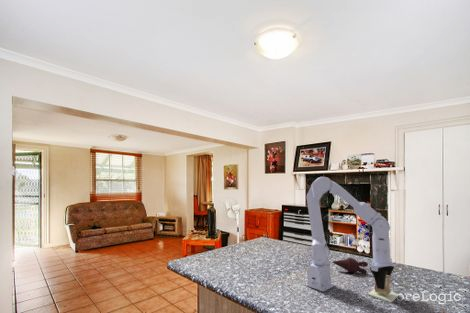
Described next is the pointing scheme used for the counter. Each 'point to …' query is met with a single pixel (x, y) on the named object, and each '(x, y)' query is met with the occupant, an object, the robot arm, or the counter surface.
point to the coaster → (384, 296)
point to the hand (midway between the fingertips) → (382, 286)
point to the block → (386, 288)
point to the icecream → (351, 265)
